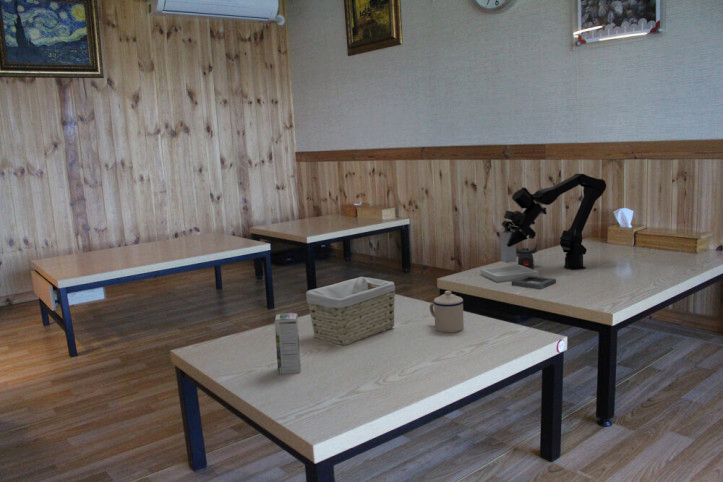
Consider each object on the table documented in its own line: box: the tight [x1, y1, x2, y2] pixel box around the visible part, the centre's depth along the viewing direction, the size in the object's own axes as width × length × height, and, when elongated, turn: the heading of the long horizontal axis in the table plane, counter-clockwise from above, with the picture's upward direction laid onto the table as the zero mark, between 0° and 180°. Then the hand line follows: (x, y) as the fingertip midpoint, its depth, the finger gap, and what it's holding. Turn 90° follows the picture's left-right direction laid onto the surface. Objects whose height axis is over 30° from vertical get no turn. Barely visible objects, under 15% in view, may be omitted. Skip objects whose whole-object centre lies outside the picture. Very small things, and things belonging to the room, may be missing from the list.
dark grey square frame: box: [511, 275, 557, 290], centre depth 231 cm, size 12×12×2 cm
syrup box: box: [274, 312, 302, 375], centre depth 156 cm, size 6×6×14 cm
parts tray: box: [479, 264, 539, 283], centre depth 246 cm, size 18×15×2 cm
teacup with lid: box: [429, 290, 465, 334], centre depth 183 cm, size 12×9×12 cm
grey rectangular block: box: [499, 230, 517, 264], centre depth 244 cm, size 4×4×12 cm
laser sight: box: [516, 243, 538, 269], centre depth 264 cm, size 10×22×10 cm, turn 166°
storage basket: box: [305, 276, 396, 346], centre depth 184 cm, size 24×16×15 cm
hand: (505, 245), depth 243 cm, fingers closed on grey rectangular block, 4 cm apart
